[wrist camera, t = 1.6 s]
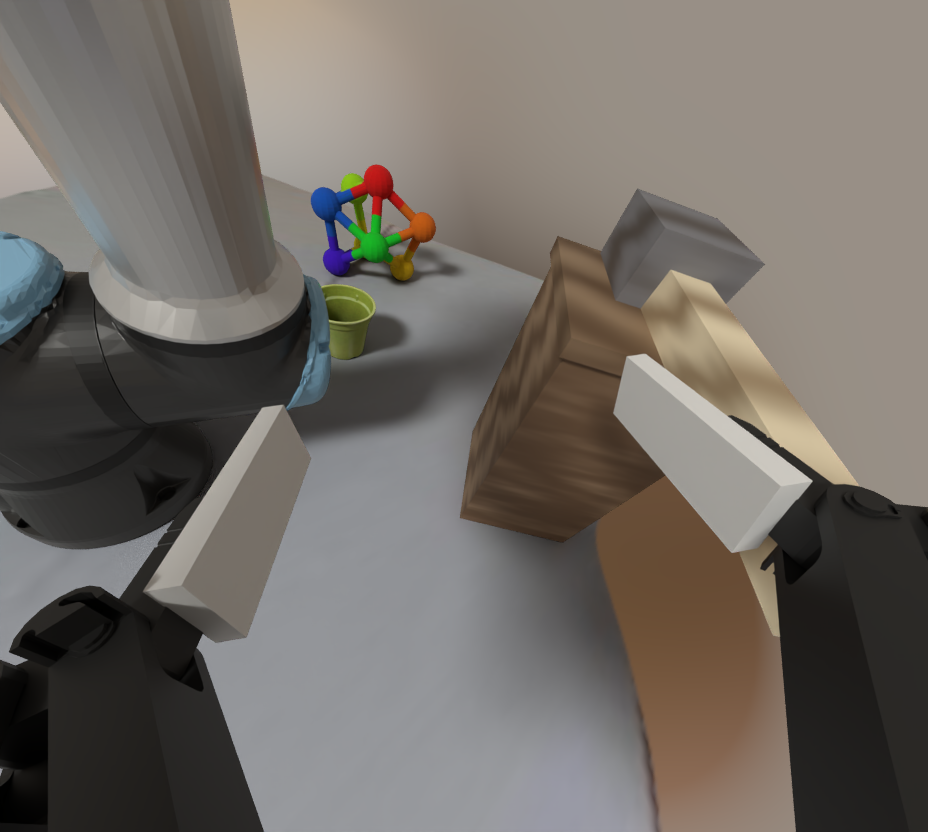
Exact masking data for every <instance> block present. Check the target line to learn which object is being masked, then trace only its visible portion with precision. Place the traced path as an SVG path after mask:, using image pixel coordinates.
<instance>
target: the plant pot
mask: <svg viewBox="0 0 928 832" xmlns="http://www.w3.org/2000/svg"><path fill="white" fill-rule="evenodd" d="M321 288H322V291H323V294H324V298H325V302H326V306H327V312H328V318H329V326H330V344H329V348H330V352H331V356H332V357H335V358H338V359H344V360H347V359H350V358H353V357H357V356H359V355H360V354H361V353H362V351H363V348H364V343H365V338H366V334H367V329H368V325H369V322H370V320H371V318H372V316H373V315H374V313H375V310H376V305H375V302H374V300H373V298H372V297H371V296H370V295H369V294H367V293H366V292H364V291H363V290H361V289H358V288H356V287H352V286H348V285H339V284H332V285H325V286H321Z"/></svg>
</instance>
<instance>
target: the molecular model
mask: <svg viewBox="0 0 928 832" xmlns="http://www.w3.org/2000/svg"><path fill="white" fill-rule="evenodd" d="M341 189H342V190H341V191H339V192H337V193H335V192H334V191H332V190H331V189H329V188H325V187H321V188H318V189H316V190H315V191H314V192H313V194H312V196H311V205H312V208H313V210H314V212H315V214H316V215H317V216H318V217H320V218H321V219H322V220H325V225H326V231H327V236H328V241H329V247H330V248H329V249H328V250H327V251H326V252H325V253H324V256H323V262H324V265H325V267H326V269H327V270H328V271H329V272H330V273H332V274H334V275H343V274H345V273H346V272H347V271H348V269H349V267H350V262H351V261H354V260H357V259H360V258H366V259H367V260H369V261H370V262H373V263H379V262H382V261H384V262H386V263H387V264H389V265H390V270H391V273H392V275H393V276H394V277H395V278H396V279H398V280H403V281H404V280H407V279H409V278H410V277H411V276H412V274H413V272H414V266H413V263H412V261H411V259H412V257H413V255H414V253H415V251H416V249H417V247H418V246H419V244H420V242H421V243H425V242H428V241H430V240H431V239H432V238H433V236H434V234H435V231H436V226H435V223H434V220H433V218H432V217H431V216H430V215H428V214H427V213H423V212H420V213H417V214H415V213H414V212H413V211H412V210H411V209H410V208H409V207H408V206H407V205H406V203H404V201H403V200H402V199H401V198H400V197H399V196H398V195H397V194H396V193H395V192H394V191H393V180H392V176H391V174H390V172H389V171H388V170H387V169H386V168H385V167H383V166H381V165H372V166H370V167H369V168H368V169H367V170H366V172H365V175H364V179H363V178H361V176H359V175H357V174H353V173H351V174H348V175H346V176H345V177H344V178H343V180H342V183H341ZM368 193H369V194H370V196H372V197H373V204H372V221H371V232H370V233H367V228H366V223H365V217H364V212H363V207H362V203H363V202H364V201H365V200H366V199H367V196H368ZM386 198H387V199H388V200H389V201H390V202H391V203H392V204H393V205H394V206H395V207H396V208H397V209H398V210H399V211H400V212H401V213H402V214H403V215H404V216H405V217H406V218H407V219H408V220H409V221H410V228H408V229H405V230H403V231H400V232H398V233H396V234H393V235H391V236H388V237H386V238H384V237H383V236H382V235H381V234H380V231H381V216H382V201H383V199H386ZM347 202H350V203H352V204H354V209H355V214H356V219H357V223H358V226H357V225H356V224H355V223H353V222H352V221H351V220H350V219H349V218H348V217H347V216H346V215H345V214H343V213H342V212H341V211H342V206H341V205H342V204H345V203H347ZM334 220H337V221H338V222H339V223H341V224H342V225H343V226H344V227H345V228H346V229H347V230H348V231H350V232H351V233H352V234H353V235H354V236H355V237H356V238H355V241H354V247H353V248H351V249H349V250H347V251H345V252H344V251H343V250H342V249H340V248H339V246H338V240H337V234H336V228H335V222H334ZM412 237H413V238H412ZM410 238H412V240H411V242H410V244H409V246H408V248H407V250H406V252H405V254H404V255H397V256H395V257H394V256H392V255H391V254H390V253H389V252H388V251H389V249H388V248H389V247H391V246H393V245H396V244H398V243H400V242H403V241H405V240H408V239H410Z"/></svg>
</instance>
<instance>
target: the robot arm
mask: <svg viewBox="0 0 928 832" xmlns="http://www.w3.org/2000/svg"><path fill="white" fill-rule="evenodd" d="M0 103H1V104H2V106H3V107H4V108H5V110H6V112H7V113H8V114H9V116H10V117H11V119H12V120H13V122H14V123H15V125H16V126H17V128H18V129H19V131H20V132H21V133H22V135H23V136H24V138H25V139H26V141H27V142H28V144H29V145H30V147H31V148H32V149H33V151H34V153H35V154H36V156H37V157H38V158H39V160H40V161H41V163H42V164H43V166H44V167H45V169H46V170H47V171H48V173H49V175H50V176H51V178H52V179H53V181H54V182H55V183H56V185H57V186H58V188H59V189H60V191H61V192H62V194H63V195H64V197H65V198H66V200H67V201H68V203H69V204H70V206H71V207H72V208H73V210H74V211H75V213H76V214H77V216H78V217H79V219H80V220H81V222H82V223H83V225H84V226H85V228H86V229H87V230H88V232H89V233H90V235H91V236H92V238H93V239H94V241H95V242H96V244H97V245H98V247H99V248H100V249H99V250H98V251H97V253H96V254H95V255H94V257H93V259H92V262H91V264H90V269H89V272H67V271H64V270H63V265H62V264H61V262H60V261H59V260H58V258H57V257H55V256H54V255H53V254H51V253H49V252H48V251H47V250H46V249H45V248H43V247H42V246H41V245H39V244H38V243H36V242H33V241H31V240H29V239H26V238H21V237H19V236H17V235H14V234H11V233H7V232H2V231H0V511H1V512H2V514H3V516H4V517H5V519H6V520H7V521H8V522H9V523H10V524H11V525H12V526H13V527H14V528H15V529H17V530H18V531H19V532H21V533H23V534H24V535H27V536H29V537H31V538H33V539H36V540H38V541H40V542H42V543H45V544H48V545H51V546H54V547H59V548H65V549H93V548H100V547H106V546H111V545H115V544H119V543H122V542H126V541H129V540H132V539H134V538H137V537H139V536H142V535H144V534H146V533H148V532H150V531H152V530H154V529H156V528H158V527H160V526H161V525H163V524H165V523H166V522H168V521H169V520H171V519H172V518H174V517H175V516H176V515H177V516H176V518H175V519H174V521H173V522H172V524H171V525H170V527H169V528H168V529H167V531H168V532H167V533H165V534H164V535H163V537H162V538H161V539H160V541H159V542H158V547H156V548H154V550H153V551H152V552H151V554H150V555H149V557H148V558H147V560H146V561H145V563H144V564H143V565H142V567H141V568H140V570H139V571H138V573H137V574H136V575H135V577H134V578H133V580H132V581H131V583H130V584H129V586H128V587H127V588H126V590H125V591H124V593H123V594H122V596H121V597H120V598H119V599H118V598H116V597H115V596H113V595H112V594H110V593H109V592H107V591H105V590H104V589H102V588H101V587H96V586H86V587H82V588H78V589H75V590H73V591H71V592H69V593H67V594H65V595H63V596H61V597H59V598H57V599H56V600H54V601H53V602H51V603H50V604H49V605H47V606H46V607H44V608H43V609H41V610H40V611H39V612H38V613H37V614H36V615H35V616H34V617H33V618H31V619H30V620H29V621H28V622H27V623H26V624H25V625H24V627H23V628H22V629H21V630H20V632H19V633H18V634H17V636H16V637H15V638H14V640H13V643H12V645H11V648H10V651H9V652H10V653H12V654H15V655H17V656H20V657H23V658H25V659H28V661H25V662H23V663H21V664H18V665H16V666H15V665H13V664H10V663H7V662H5V661H2V660H0V768H1V769H3V770H2V773H1V776H0V832H264V830H263V828H262V825H261V822H260V819H259V816H258V813H257V810H256V807H255V805H254V802H253V799H252V796H251V793H250V790H249V787H248V784H247V781H246V779H245V776H244V773H243V770H242V767H241V764H240V761H239V758H238V756H237V753H236V750H235V747H234V744H233V741H232V738H231V735H230V733H229V730H228V727H227V724H226V721H225V718H224V715H223V712H222V709H221V707H220V704H219V701H218V698H217V695H216V692H215V689H214V686H213V684H212V681H211V678H210V675H209V672H208V669H207V666H206V663H205V661H204V658H203V655H202V654H201V652H200V651H199V650H198V649H197V648H196V647H197V645H198V643H199V641H200V639H201V636H202V634H204V635H205V636H207V637H208V638H210V639H211V640H213V641H214V642H215V643H218V642H223V641H229V640H235V639H241V638H246V637H247V635H248V632H249V629H250V626H251V624H252V621H253V618H254V615H255V612H256V610H257V607H258V604H259V601H260V599H261V596H262V593H263V590H264V587H265V585H266V582H267V579H268V576H269V574H270V571H271V568H272V565H273V563H274V560H275V557H276V554H277V551H278V549H279V546H280V543H281V540H282V538H283V535H284V532H285V529H286V526H287V524H288V521H289V518H290V515H291V513H292V510H293V507H294V504H295V502H296V499H297V496H298V493H299V490H300V488H301V485H302V482H303V479H304V477H305V474H306V471H307V468H308V465H309V463H310V460H311V457H310V455H309V453H308V451H307V449H306V447H305V446H304V444H303V442H302V440H301V438H300V436H299V434H298V432H297V430H296V428H295V426H294V424H293V422H292V420H291V418H290V416H289V414H288V412H287V410H289V409H291V408H294V407H299V406H305V405H310V404H313V403H316V402H318V401H319V400H320V399H321V398H322V397H323V396H324V395H325V393H326V391H327V388H328V385H329V379H330V370H331V352H330V348H329V344H330V326H329V318H328V312H327V306H326V302H325V298H324V294H323V291H322V288H321V286H320V284H319V283H318V281H317V280H316V279H314V278H312V277H310V276H305V275H304V274H303V273H302V270H301V268H300V266H299V264H298V262H297V261H296V259H295V258H294V256H293V255H292V254H291V253H290V252H289V251H288V250H287V249H286V248H285V247H284V246H283V245H281V244H280V243H279V242H277V241H276V240H274V238H273V233H272V228H271V222H270V217H269V212H268V206H267V201H266V196H265V190H264V185H263V180H262V174H261V169H260V164H259V159H258V153H257V148H256V142H255V137H254V132H253V126H252V121H251V116H250V111H249V105H248V100H247V94H246V89H245V84H244V79H243V73H242V68H241V62H240V57H239V52H238V46H237V41H236V36H235V30H234V25H233V20H232V14H231V8H230V3H229V0H0ZM255 413H259V414H258V415H257V417H256V418H255V420H254V421H253V423H252V424H251V426H250V427H249V429H248V430H247V432H246V434H245V435H244V437H243V438H242V440H241V441H240V443H239V444H238V446H237V447H236V449H235V450H234V452H233V454H232V455H231V457H230V458H229V460H228V461H227V463H226V464H225V466H224V467H223V469H222V470H221V472H220V474H219V475H218V477H217V478H216V480H215V481H214V483H213V484H212V486H211V487H210V489H209V490H208V492H207V494H206V495H205V496H204V497H198V498H196V497H197V495H198V494H199V493H200V491H201V490H202V488H203V487H204V485H205V483H206V482H207V479H208V477H209V475H210V472H211V468H212V451H211V448H210V445H209V443H208V441H207V440H206V438H205V437H204V435H203V433H202V432H201V430H200V429H199V428H198V427H197V426H196V425H195V424H194V423H193V422H197V421H204V420H211V419H218V418H225V417H232V416H240V415H248V414H255ZM613 414H614V415H615V416H616V417H617V418H618V419H619V421H620V422H621V423H622V424H623V425H624V427H625V428H626V429H627V430H628V431H629V432H630V434H631V435H632V436H633V437H634V438H635V440H636V441H637V442H638V443H639V444H640V445H641V447H642V448H643V449H644V450H645V451H646V453H647V454H648V455H649V456H650V457H651V458H652V460H653V461H654V462H655V463H656V464H657V465H658V467H659V468H660V469H661V470H662V471H663V473H664V474H665V475H666V476H667V477H668V478H669V480H670V481H671V482H672V483H673V484H674V486H675V487H676V488H677V489H678V490H679V491H680V493H681V494H682V495H683V496H684V497H685V499H686V500H687V501H688V502H689V503H690V504H691V506H692V507H693V508H694V509H695V510H696V511H697V513H698V514H699V515H700V516H701V517H702V519H703V520H704V521H705V522H706V523H707V525H708V526H709V527H710V528H711V529H712V530H713V532H714V533H715V534H716V535H717V536H718V537H719V539H720V540H721V541H722V542H723V543H724V545H725V546H726V547H727V548H728V549H729V550H730V552H732V553H733V552H739V551H745V550H751V549H756V548H758V547H759V546H760V545H761V544H762V542H763V541H764V540H765V539H766V538H767V536H768V535H769V536H770V537H771V538H772V539H773V540H774V541H775V542H776V543H777V544H778V545H777V546H776V547H775V548H774V550H773V551H772V552H771V553H770V554H769V555H768V556H767V558H766V559H765V560H764V561H763V562H762V564H761V567H760V569H761V570H764V571H766V570H767V568H768V567H769V566H770V565H771V564H772V563H774V572H773V574H774V575H775V583H776V595H777V607H778V619H779V631H780V643H781V655H782V667H783V679H784V692H785V704H786V716H787V728H788V739H789V753H790V763H791V764H790V765H791V776H792V788H793V801H794V812H795V824H796V832H928V507H919V506H908V505H898V504H895V503H893V502H892V501H891V500H889V499H887V498H885V497H884V496H882V495H880V494H878V493H876V492H874V491H871V490H868V489H865V488H862V487H860V486H854V485H849V484H833V483H832V482H830V481H829V480H827V479H826V478H825V477H823V476H822V475H821V474H819V473H818V472H816V471H815V470H814V469H812V468H811V467H810V466H808V465H807V464H805V463H804V462H803V461H801V460H800V459H799V458H797V457H796V456H795V455H793V454H792V453H790V452H789V451H788V450H786V449H785V448H784V447H780V446H779V444H778V443H777V442H775V441H774V440H773V439H771V438H770V437H769V438H767V435H766V434H764V433H763V432H762V431H760V430H759V429H758V428H756V427H755V426H753V425H752V424H750V423H748V422H746V421H744V420H742V419H739V418H737V417H735V416H733V415H729V416H727V415H725V414H724V413H723V412H721V411H720V410H719V409H717V408H716V407H715V406H714V405H712V404H711V403H710V402H708V401H707V400H706V399H704V398H703V397H702V396H700V395H699V394H698V393H696V392H695V391H694V390H693V389H691V388H690V387H689V386H687V385H686V384H685V383H683V382H682V381H681V380H679V379H678V378H677V377H675V376H674V375H673V374H671V373H670V372H669V371H668V370H666V369H665V368H664V367H662V366H661V365H660V364H658V363H657V362H656V361H654V360H653V359H652V358H650V357H649V356H648V355H647V354H640V355H633V356H627V357H626V361H625V365H624V370H623V374H622V378H621V382H620V387H619V391H618V395H617V399H616V404H615V408H614V412H613Z"/></svg>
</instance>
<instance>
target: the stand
mask: <svg viewBox="0 0 928 832" xmlns="http://www.w3.org/2000/svg"><path fill="white" fill-rule="evenodd" d="M600 253H601V251H599V250H596V249H593V248H590V247H587V246H584V245H582V244H579V243H576V242H573V241H570V240H567V239H564V238H562V237H559V236H558V237H557V239H556V241H555V243H554V246H553V248H552V250H551V252H550V258H551V268H550V270H549V272H548V274H547V276H546V278H545V280H544V282H543V284H542V286H541V289H540V291H539V293H538V295H537V297H536V299H535V301H534V303H533V305H532V308H531V310H530V312H529V314H528V316H527V318H526V320H525V322H524V324H523V327H522V329H521V331H520V333H519V335H518V337H517V339H516V341H515V343H514V345H513V348H512V350H511V352H510V354H509V356H508V358H507V360H506V362H505V364H504V367H503V369H502V371H501V373H500V375H499V377H498V379H497V381H496V383H495V386H494V388H493V390H492V392H491V394H490V396H489V398H488V400H487V402H486V404H485V407H484V409H483V411H482V413H481V415H480V417H479V419H478V421H477V423H476V426H475V428H474V430H473V433H472V440H471V446H470V453H469V460H468V466H467V473H466V480H465V486H464V493H463V500H462V506H461V513H460V518H462V519H467V520H471V521H475V522H479V523H483V524H487V525H492V526H496V527H500V528H504V529H508V530H512V531H516V532H521V533H525V534H529V535H533V536H537V537H541V538H546V539H550V540H554V541H558V542H562V543H563V542H564V541H566V540H567V539H569V538H570V537H572V536H573V535H575V534H577V533H578V532H580V531H581V530H583V529H584V528H586V527H587V526H589V525H590V524H592V523H593V522H595V521H596V520H598V519H599V518H601V517H603V516H604V515H606V514H607V513H609V512H610V511H612V510H613V509H615V508H616V507H618V506H619V505H621V504H622V503H624V502H625V501H627V500H629V499H630V498H632V497H633V496H634V495H636V494H638V493H639V492H641V491H642V490H644V489H645V488H647V487H648V486H650V485H651V484H653V483H655V482H656V481H658V480H659V479H661V478H662V477H664V476H665V474H664V473H663V471H662V470H661V469H660V468H659V467H658V465H657V464H656V463H655V462H654V461H653V460H652V458H651V457H650V456H649V455H648V454H647V453H646V451H645V450H644V449H643V448H642V447H641V445H640V444H639V443H638V442H637V441H636V440H635V438H634V437H633V436H632V435H631V434H630V432H629V431H628V430H627V429H626V428H625V427H624V425H623V424H622V423H621V422H620V421H619V419H618V418H617V417H616V416H615V415H614V414H613V412H614V408H615V404H616V399H617V395H618V391H619V387H620V382H621V378H622V374H623V370H624V365H625V361H626V357H627V356H633V355H640V354H647V355H648V356H649V357H650V358H652V359H653V360H654V361H656V362H657V363H658V364H660V365H661V366H662V367H664V365H663V363H662V360H661V358H660V355H659V353H658V351H657V348H656V346H655V343H654V341H653V338H652V336H651V333H650V331H649V328H648V326H647V323H646V321H645V318H644V316H643V314H642V311H641V309H640V308H637V307H634V306H631V305H628V304H625V303H622V302H619V301H616V300H615V297H614V294H613V291H612V288H611V285H610V282H609V279H608V276H607V272H606V269H605V266H604V263H603V260H602V257H601V254H600Z"/></svg>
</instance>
